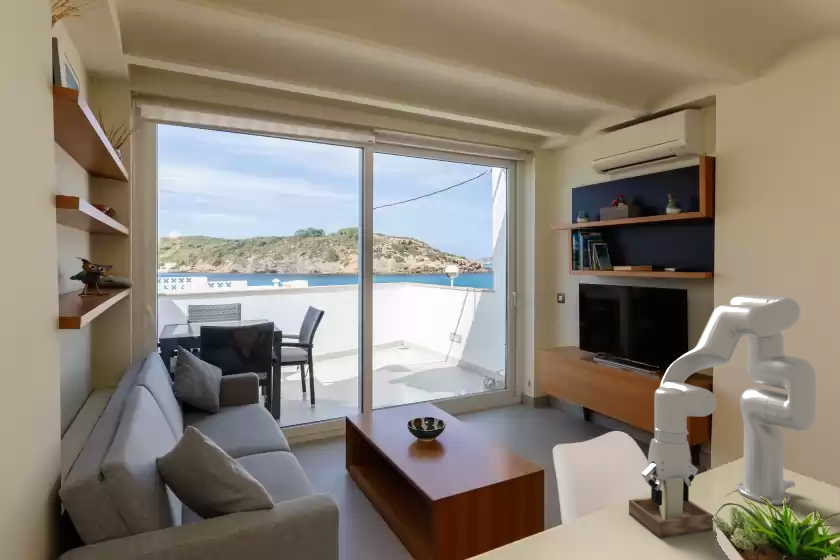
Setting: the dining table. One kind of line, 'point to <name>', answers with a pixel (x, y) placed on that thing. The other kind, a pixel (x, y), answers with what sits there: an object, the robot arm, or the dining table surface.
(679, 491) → the skincare box
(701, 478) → the dining table surface
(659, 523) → the box
